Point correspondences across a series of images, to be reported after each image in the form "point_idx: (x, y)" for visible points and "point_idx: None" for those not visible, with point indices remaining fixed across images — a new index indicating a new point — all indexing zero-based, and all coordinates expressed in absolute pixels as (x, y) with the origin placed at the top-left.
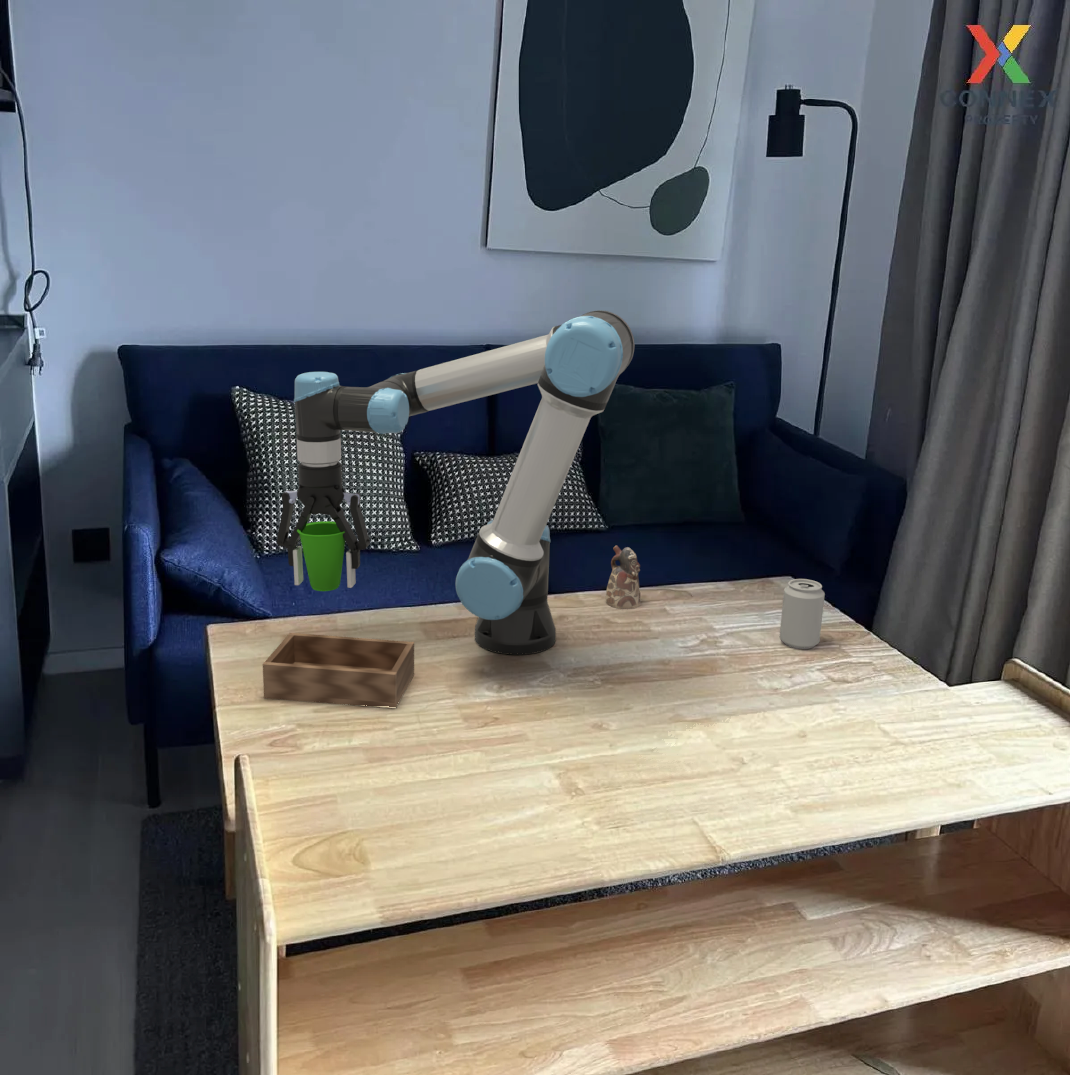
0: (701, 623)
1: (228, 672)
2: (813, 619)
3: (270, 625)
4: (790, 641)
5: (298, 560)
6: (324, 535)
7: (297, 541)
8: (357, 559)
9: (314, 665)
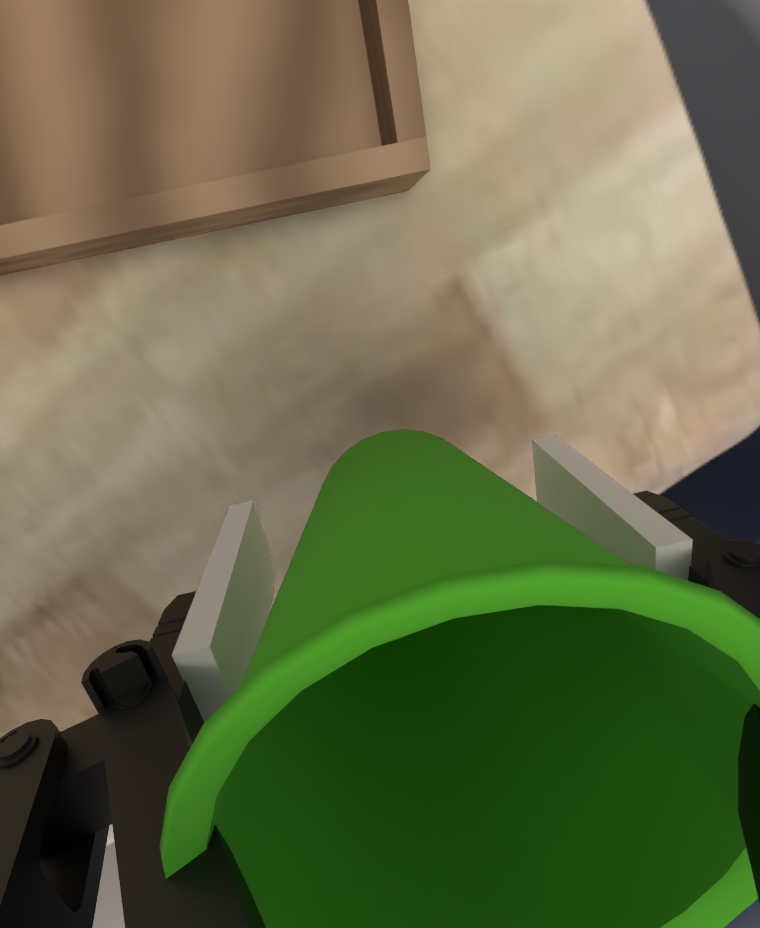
0: None
1: (603, 10)
2: None
3: (614, 478)
4: None
5: (604, 521)
6: (325, 647)
7: None
8: (152, 645)
9: (295, 163)
